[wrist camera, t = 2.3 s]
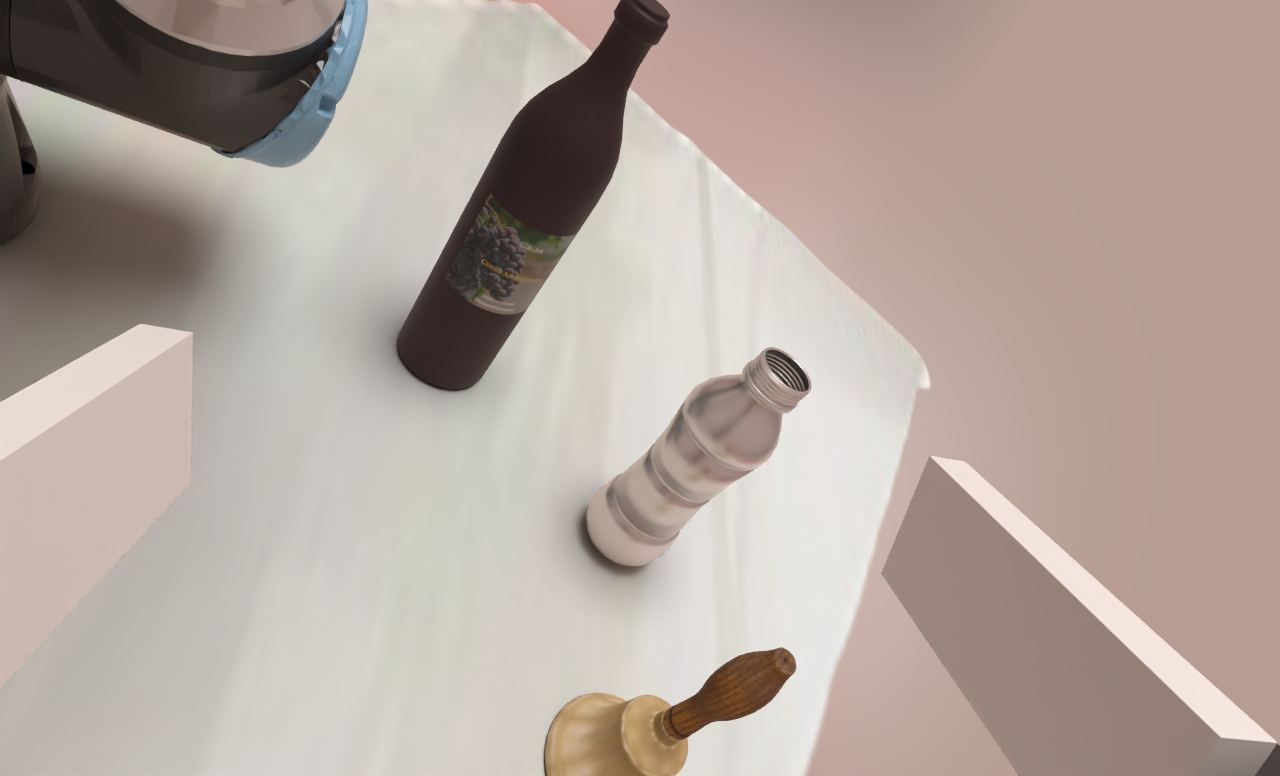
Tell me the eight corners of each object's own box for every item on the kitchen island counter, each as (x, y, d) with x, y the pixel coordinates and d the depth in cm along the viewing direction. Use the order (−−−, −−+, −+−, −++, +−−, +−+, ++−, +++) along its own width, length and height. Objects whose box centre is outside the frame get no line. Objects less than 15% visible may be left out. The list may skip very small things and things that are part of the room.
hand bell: (666, 717, 47) (836, 608, 38) (661, 862, 41) (863, 775, 32) (555, 676, 45) (708, 549, 36) (531, 825, 38) (711, 718, 29)
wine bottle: (380, 361, 53) (584, -27, 36) (414, 309, 58) (605, -50, 41) (468, 407, 55) (701, 59, 38) (492, 352, 60) (705, 26, 43)
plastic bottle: (653, 587, 54) (842, 429, 42) (573, 563, 51) (752, 388, 40) (648, 514, 58) (818, 355, 47) (574, 489, 56) (735, 313, 44)
